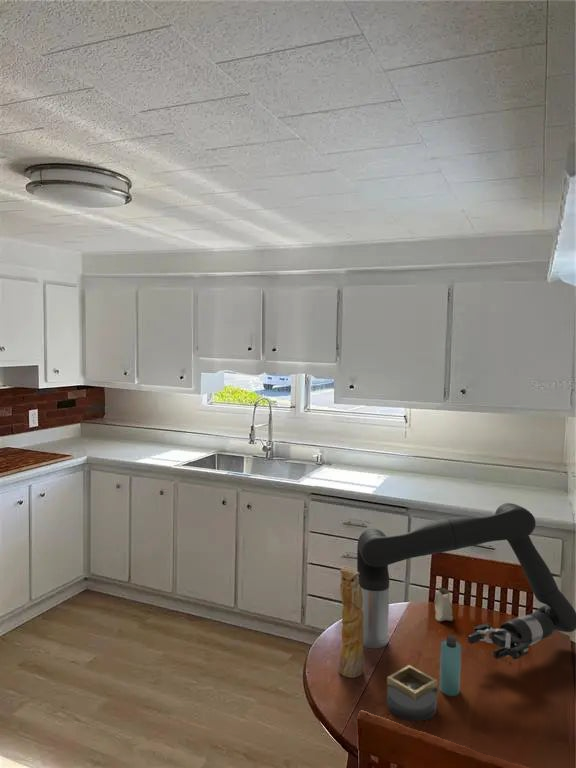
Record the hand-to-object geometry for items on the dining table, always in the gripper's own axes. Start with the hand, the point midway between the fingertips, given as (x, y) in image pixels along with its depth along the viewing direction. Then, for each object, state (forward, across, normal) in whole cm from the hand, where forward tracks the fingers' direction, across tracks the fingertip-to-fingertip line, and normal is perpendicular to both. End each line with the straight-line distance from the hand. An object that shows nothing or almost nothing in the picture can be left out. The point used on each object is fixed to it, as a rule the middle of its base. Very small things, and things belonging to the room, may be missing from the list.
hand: (481, 647), depth 155 cm
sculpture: (+30, -18, +8) cm, 36 cm away
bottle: (+11, 0, +8) cm, 14 cm away
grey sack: (-17, -31, +9) cm, 36 cm away
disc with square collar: (+24, 0, +8) cm, 26 cm away
